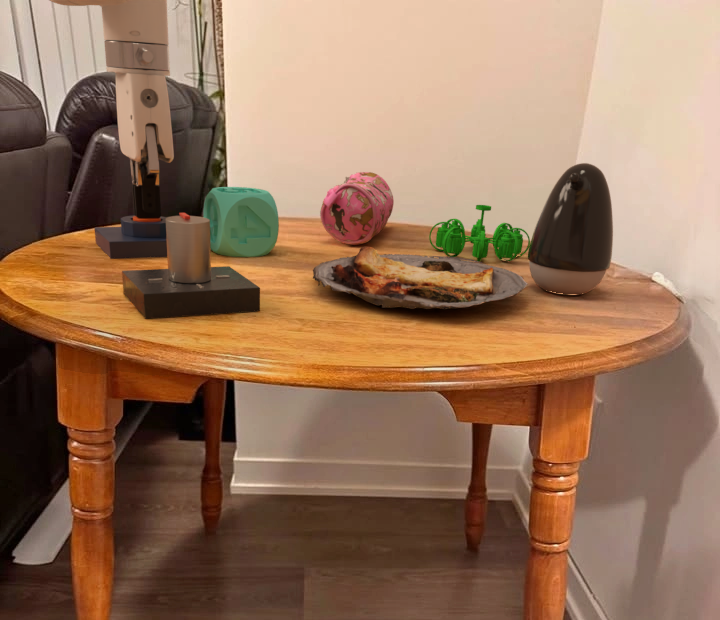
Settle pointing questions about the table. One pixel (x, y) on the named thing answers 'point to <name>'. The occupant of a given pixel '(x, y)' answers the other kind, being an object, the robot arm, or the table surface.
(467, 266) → the food plate
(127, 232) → the button box
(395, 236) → the table surface
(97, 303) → the table surface
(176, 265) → the knob
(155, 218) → the button
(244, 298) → the knob console
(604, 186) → the black egg-shaped diffuser
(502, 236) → the chandelier
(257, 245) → the decorative dice
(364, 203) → the pencil case
